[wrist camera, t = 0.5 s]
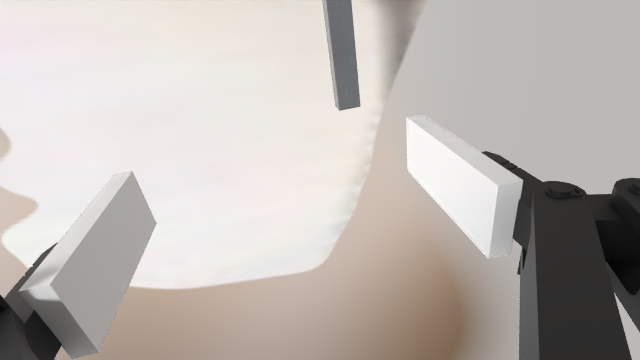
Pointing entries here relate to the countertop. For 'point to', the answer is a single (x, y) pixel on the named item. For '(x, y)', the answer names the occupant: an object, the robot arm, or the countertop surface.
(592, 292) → the robot arm
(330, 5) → the grey lever handle
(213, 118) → the countertop surface
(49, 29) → the countertop surface
